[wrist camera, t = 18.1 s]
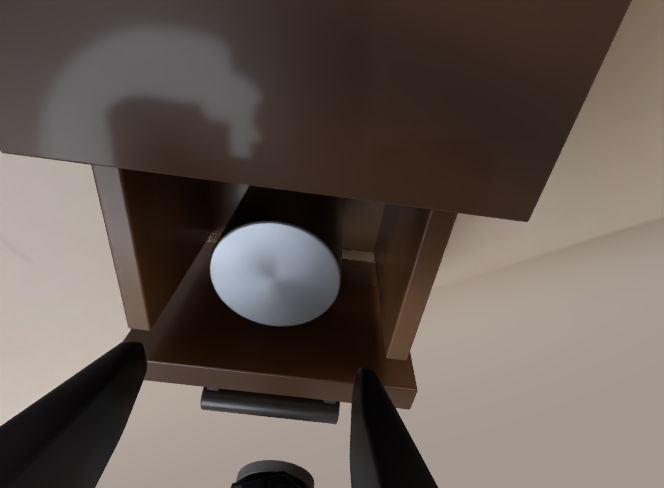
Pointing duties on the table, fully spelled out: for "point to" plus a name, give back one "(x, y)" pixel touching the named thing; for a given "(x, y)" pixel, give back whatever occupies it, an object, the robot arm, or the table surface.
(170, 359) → the drawer
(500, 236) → the table surface
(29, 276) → the table surface
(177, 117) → the cabinet
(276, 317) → the cylinder
